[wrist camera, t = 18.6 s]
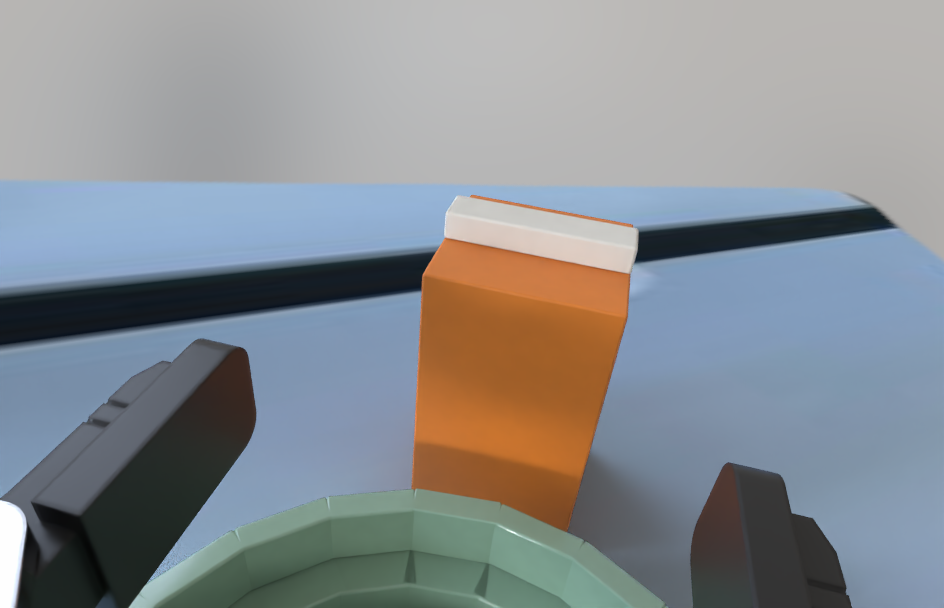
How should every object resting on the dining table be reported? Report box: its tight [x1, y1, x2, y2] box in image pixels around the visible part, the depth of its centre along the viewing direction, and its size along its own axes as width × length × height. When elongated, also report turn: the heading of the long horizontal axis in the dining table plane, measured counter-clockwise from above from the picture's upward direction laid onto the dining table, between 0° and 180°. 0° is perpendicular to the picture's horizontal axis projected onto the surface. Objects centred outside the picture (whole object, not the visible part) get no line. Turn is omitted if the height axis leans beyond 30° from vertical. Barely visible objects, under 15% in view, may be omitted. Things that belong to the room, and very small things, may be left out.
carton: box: [412, 195, 638, 532], centre depth 19 cm, size 5×5×10 cm
